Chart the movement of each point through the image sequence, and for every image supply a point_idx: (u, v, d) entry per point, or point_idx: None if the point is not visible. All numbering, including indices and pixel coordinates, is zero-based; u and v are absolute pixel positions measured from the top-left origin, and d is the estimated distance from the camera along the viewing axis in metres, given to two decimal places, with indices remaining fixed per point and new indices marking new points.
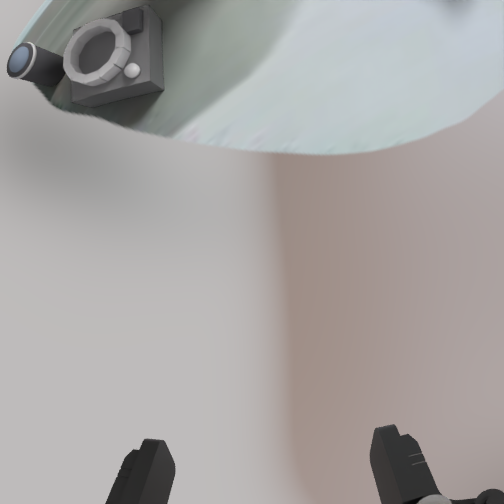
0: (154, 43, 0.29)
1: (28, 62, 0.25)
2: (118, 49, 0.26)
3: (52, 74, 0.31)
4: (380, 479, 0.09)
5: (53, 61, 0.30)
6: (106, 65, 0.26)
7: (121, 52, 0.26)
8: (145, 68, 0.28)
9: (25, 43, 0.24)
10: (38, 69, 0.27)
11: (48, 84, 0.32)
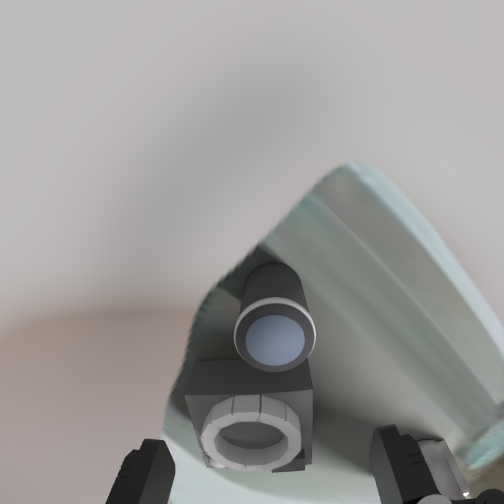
0: None
1: (260, 361, 0.19)
2: (242, 468, 0.23)
3: None
4: (380, 479, 0.09)
5: None
6: (222, 458, 0.23)
7: (237, 468, 0.23)
8: None
9: (309, 350, 0.18)
10: None
11: None
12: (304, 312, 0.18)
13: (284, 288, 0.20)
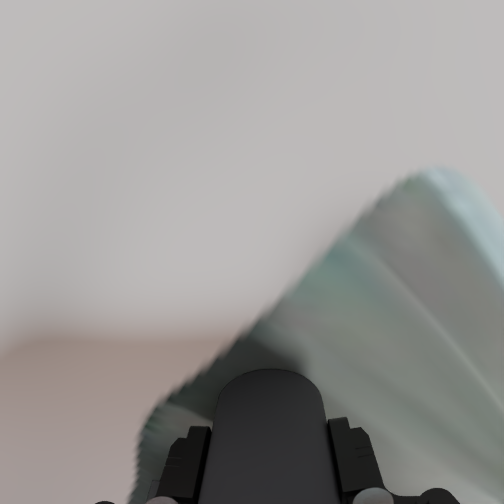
0: None
1: None
2: None
3: None
4: None
5: None
6: None
7: None
8: None
9: None
10: None
11: None
12: None
13: (291, 480, 0.07)
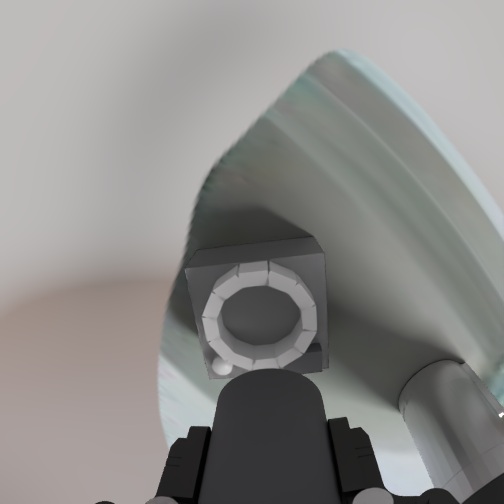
0: None
1: None
2: (250, 364, 0.23)
3: None
4: None
5: None
6: (226, 350, 0.23)
7: (245, 367, 0.23)
8: (226, 374, 0.25)
9: None
10: None
11: None
12: None
13: (291, 479, 0.07)
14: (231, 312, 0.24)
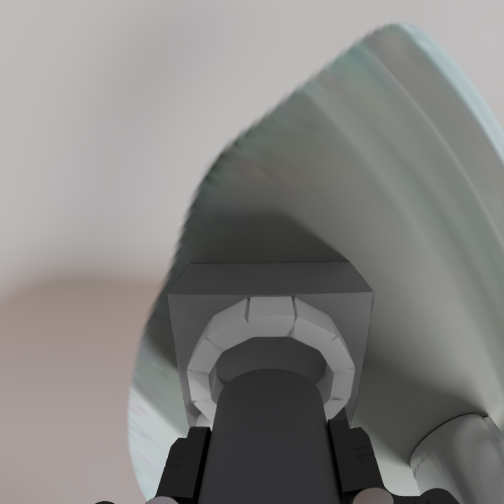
0: None
1: None
2: None
3: None
4: None
5: None
6: None
7: None
8: None
9: None
10: None
11: None
12: None
13: (291, 478, 0.07)
14: (229, 361, 0.16)
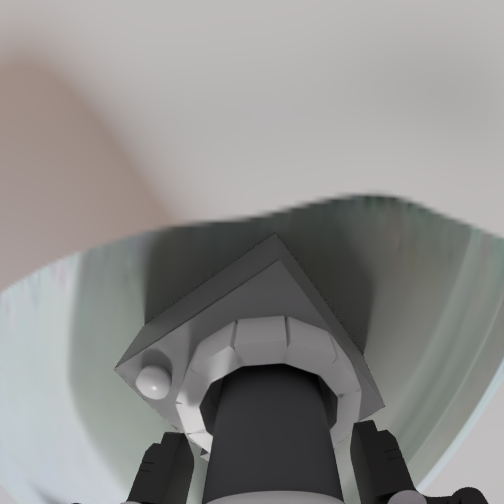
0: None
1: None
2: (195, 429, 0.13)
3: None
4: (358, 474, 0.09)
5: None
6: (195, 397, 0.12)
7: (184, 424, 0.13)
8: None
9: None
10: None
11: None
12: None
13: (293, 446, 0.08)
14: None
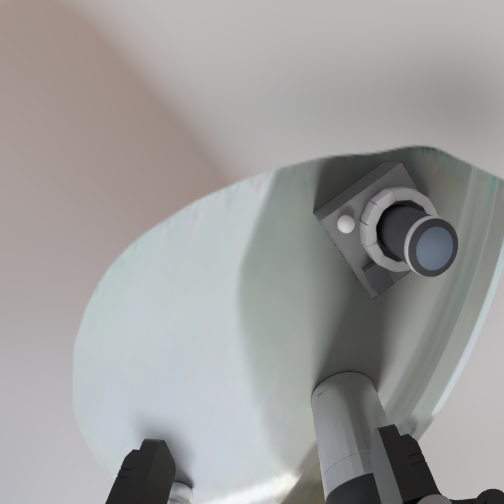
0: (345, 258, 0.33)
1: (422, 268, 0.22)
2: (371, 242, 0.28)
3: (390, 250, 0.28)
4: (380, 479, 0.09)
5: None
6: (375, 219, 0.27)
7: (366, 240, 0.28)
8: (333, 231, 0.30)
9: (453, 256, 0.22)
10: (405, 262, 0.24)
11: (380, 232, 0.28)
12: (452, 226, 0.21)
13: (428, 214, 0.24)
14: None
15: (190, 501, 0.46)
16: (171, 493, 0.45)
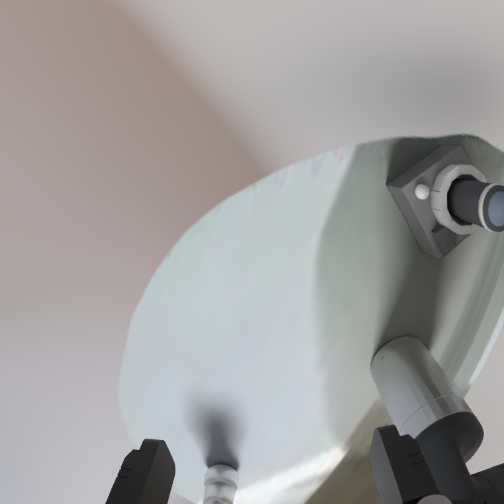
0: (415, 224, 0.35)
1: (491, 224, 0.24)
2: (443, 207, 0.30)
3: (457, 215, 0.30)
4: (380, 479, 0.09)
5: None
6: (446, 188, 0.29)
7: (439, 205, 0.30)
8: (411, 198, 0.32)
9: None
10: (475, 221, 0.26)
11: (448, 200, 0.30)
12: None
13: None
14: None
15: (236, 484, 0.47)
16: (218, 476, 0.47)
